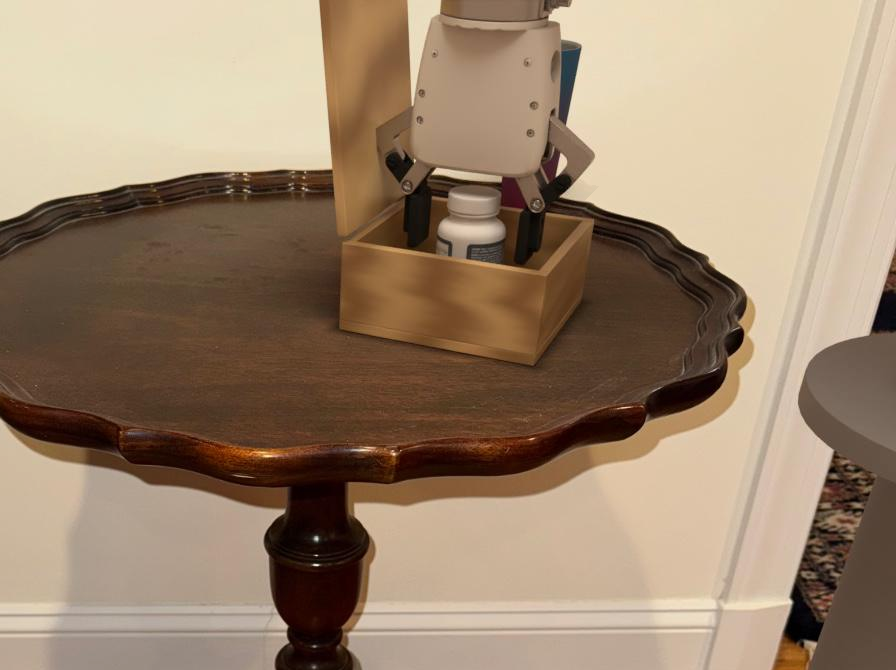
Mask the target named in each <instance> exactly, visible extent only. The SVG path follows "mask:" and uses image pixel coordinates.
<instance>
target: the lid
mask: <svg viewBox="0 0 896 670" xmlns="http://www.w3.org/2000/svg"><path fill="white" fill-rule="evenodd" d="M318 6H319V17H320V31H321V43H322V44H321V45H322V54H323V55H322V56H323V68H324V80H325V93H326V106H327V107H326V108H327V119H328V131H329V133H328V134H329V145H330V157H331V170H332V172H331V173H332V182H333V197H334V209H335V222H336V233H337V237H348V236H349V235H351V234H352V233H353V232H355V231H357V230H358V229H360V228H361V227H362V226H363V225H365V224H366V223H368V222H370V220H372V219H373V218H374V217H376V216H377V215H379V214H380V213H381V212H383V211H384V210H386V209H387V208H389V207H390V206H391V205H394V203H396V202H398V200H400V199H401V198H402V197H405V194H404V193H403V192H402V191H401V189H400V183H399V182H398V181H397V179H396V178H395V177H394V175H393V174H392V173H391V171H390V170H389V169H388V167H387V166H386V163H385V158H384V156H383V155H382V153H381V152H380V150H379V148H378V146H377V142H376V128H378V127H379V126H381V125H382V124H384V123H386V122H387V121H389V120H390V119H392V118H394V117H395V116H397V115H398V114H400V113H402V112H403V111H405V110H407V109H408V108H410V107H411V106H413V101H412V75H411V53H410V52H411V51H410V50H411V49H410V28H409V1H408V0H318ZM410 132H411V127H410V128H408V129H406V130H405V131H403V132H401V133H400V135H399V142H400V144H401V145H400V146H401V148H402V150H404V151H405V152H406V153H407V154H408V156H409V157H410V158H411V160H412V161H413V162H414V163H415V159H414V158H413V156H412V154H411V150H410Z"/></svg>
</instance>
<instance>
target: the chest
mask: <svg viewBox="0 0 896 670" xmlns="http://www.w3.org/2000/svg"><path fill="white" fill-rule="evenodd" d="M447 202H448V197H439V196H433V195H432V202H431V214H430V226H429V236H428V238H427V239H426V240H424V241H423V242H422V243H421V244H420V245H418V246H417V247H415V248H411V247H407V237H408V232H404V230H403V222H404V207H405V197H404V198H403V199H401V200H400V201H397V203H396V204H393V206H392V207H390V208H388V209H387V210H386V211H384V212H383V213H382V214H380V215H379V216H377V217H376V218H375V219H373V220H372V221H370V222H369V223H368V224H366V225H365V226H364V227H362V228H361V229H360V230H358V231H357V232H356V233H354V234H353V235H352V236H350V237H348V238H347V239H346V240H343V242H342V243H341V264H340V265H341V266H340V293H339V294H340V296H339V321H338V329H339V330H340V331H346V332H350V333H357V334H362V335H368V336H372V337H376V338H383V339H388V340H392V341H393V340H394V341H398V342H403V343H409V344H415V345H421V346H425V347H430V348H435V349H441V350H446V351H451V352H456V353H462V354H467V355H473V356H478V357H482V358H488V359H493V360H499V361H505V362H509V363H514V364H519V365H520V364H521V365H525V366H531V367H534V366H535V365H536V364H537V362H538V361H539V360H540V358H541V357H542V355H543V354H544V352H545V351H546V350H547V349H548V348H549V346H550V345H551V343H552V342H553V340H554V339H555V338H556V336H557V335H558V334H559V332H560V331H561V330H562V328H563V327H564V325H565V324H566V323H567V322H568V320H569V319H570V318H571V316H572V315H573V313H574V312H575V310H576V309H577V308H578V306H579V305H581V302H582V299H583V293H584V287H585V281H586V273H587V268H588V261H589V256H590V251H591V250H590V249H591V243H592V237H593V231H594V227H595V226H594V224H595V219H594V218H588V217H581V216H574V215H568V214H567V215H566V214H561V213H553V212H546V216H545V223H544V230H543V237H542V244H541V247H540V250H539V251H538V252H537V253H536V252H533V255H532V256H531V257H530V259H529V260H528V261H527V262H526V263H525V264H524V265H517V264H516V262H514V256H515V248H516V240H517V232H518V225H519V217H520V213H521V212H522V211H523V210H524V209H518V208H511V207H504V206H502V205H500V212H499V214H498V215H496V218H497V219H499V220H500V221H501V222H502V223H503V224H504V226H505V228H506V238H505V248H504V256H503V265H500V264H493V263H487V262H481V261H475V260H468V259H462V258H456V257H449V256H443V255H437V254H436V244H437V232H438V227H439V224H440V223H441V221H442V220H443V219H445V218H446V217H448V216H450V213H449V212H448V207H447Z"/></svg>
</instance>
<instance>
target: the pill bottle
mask: <svg viewBox="0 0 896 670" xmlns="http://www.w3.org/2000/svg"><path fill="white" fill-rule="evenodd" d="M447 193H448V194H447V199H448V202H447V207H448V212H449V213H450V216H448V217H446V218H445V219H443V220H442V221H441V223H440V224H439V227H438V232H437V244H436V254H437V255H443V256H449V257H456V258H462V259H468V260H475V261H481V262H487V263H493V264H500V265H503V256H504V248H505V238H506V228H505V226H504V224H503V223H502V222H501V221H500V220H499V219H497V218H496V215H498V214H499V212H500V206H501V190H498V189H496V188H494V187H489V186H485V185H476V184H475V185H473V184H471V185H469V184H467V185H460V186H454V187H452V188H450V189H449V190H448V192H447Z"/></svg>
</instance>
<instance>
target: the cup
mask: <svg viewBox="0 0 896 670" xmlns="http://www.w3.org/2000/svg"><path fill="white" fill-rule="evenodd" d="M582 48H583V45H582V44H581V43H580V42H576V41H573V40H567V39H563V38H561V81H560V98H559V112H558V119H559V120H560V121H561V122H562V123H563V124H565V125H566V126H567V123H568V118H569V113H570V109H571V104H572V97H573V92H574V89H575V84H576V78H577V73H578V68H579V65H580V64H579V63H580V60H581V59H580V58H581V53H582ZM561 154H562V153H561V152H560V151H558V150H557V149H556V148H554V153H553V156H552V158H551V160H550V161H549V162H547V163H545V164H542V165H541V166H542V168H543V170H544V172H545V175H546V177H547V179H548V181H549V182H551V181H552V180H553V179H554V178H556V177H557V173H558V167H559V163H560V157H561ZM500 193H501V204H500V206H504V207H511V208H518V209H525V208H526V201H525V198H524V196H523V194H522V192H521V190H520V188H519V186H518V183H517V181H516V179H515V178H511V177H502V176H501V190H500ZM550 207H551V204H549V205H548V206H547V209H546V210H549V208H550Z"/></svg>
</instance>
